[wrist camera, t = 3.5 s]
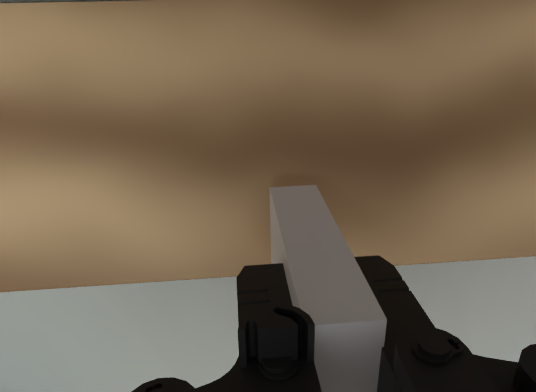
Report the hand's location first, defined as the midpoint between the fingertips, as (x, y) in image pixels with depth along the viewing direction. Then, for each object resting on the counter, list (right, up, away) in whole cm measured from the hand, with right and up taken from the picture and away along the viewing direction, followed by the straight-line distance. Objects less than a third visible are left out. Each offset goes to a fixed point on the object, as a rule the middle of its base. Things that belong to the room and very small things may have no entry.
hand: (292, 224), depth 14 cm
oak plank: (0, +3, +3) cm, 4 cm away
